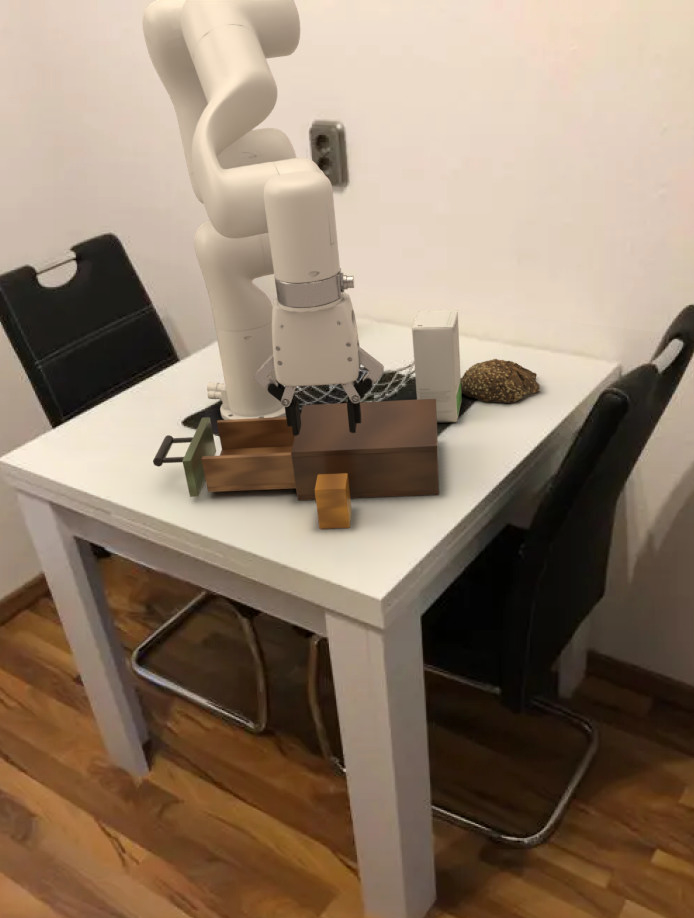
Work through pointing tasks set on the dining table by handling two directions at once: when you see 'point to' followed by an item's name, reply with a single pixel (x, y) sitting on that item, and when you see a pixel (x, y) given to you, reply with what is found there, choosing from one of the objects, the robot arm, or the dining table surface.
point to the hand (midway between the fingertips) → (325, 428)
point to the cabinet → (369, 448)
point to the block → (333, 501)
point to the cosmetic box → (438, 361)
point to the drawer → (236, 455)
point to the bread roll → (498, 381)
